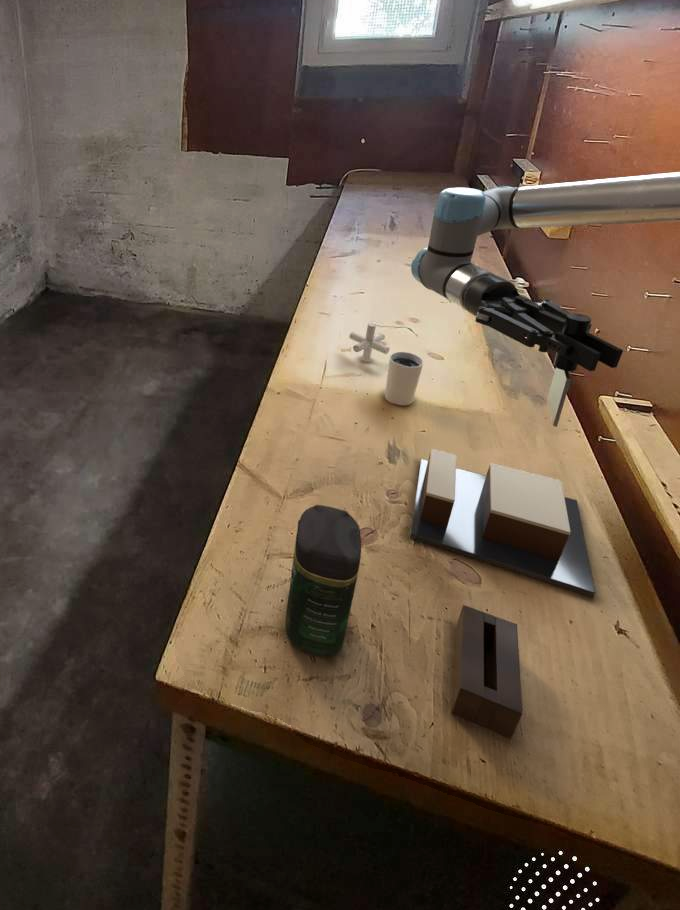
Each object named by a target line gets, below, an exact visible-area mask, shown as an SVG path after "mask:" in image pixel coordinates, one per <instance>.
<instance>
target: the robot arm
mask: <svg viewBox="0 0 680 910" xmlns="http://www.w3.org/2000/svg"><path fill="white" fill-rule="evenodd" d="M657 223H658V224H660V223H661V224H662V223H680V171H672V172H661V173H652V174H651V173H650V174H642V175H631V176H621V177H609V178H600V179H599V178H598V179H588V180H578V181H569V182H556V183H547V184H536V185H526V186H525V185H524V186H520V187H519V186H518V187H516V186H515V187H513V186H507V185H505V186H496V187H491V188H488V189H487V190H484V191H482V190H481V189H477V188H473V187H472V188H470V187H459V186H458V187H448V188H445V189H442V190H441V191H440V193H439V195H438V198H437V201H436V205H435V207H434V210H433V218H432V224H431V227H430V228H431V229H430V234H429V239H428V244H427V247H424V248H423V249H421V250H420V251H418V252H417V253H416V256H415V257H414V259H413V260H412V261H411V264H410V265H411V266H410V269H411V270H410V272H411V274H412V277H413V278H414V280H416V281H417V282H418V283H420V284H421V285H422V286H423V287H424V288H426V289H427V290H430V291H433V292H434V293H436V294H438V295H439V296H441V297H443V298H445V299H446V300H448V301H450V302H452V303H454V304H455V305H457V307H460V308H461V309H462V310H464V311H467V312H468V313H469V314H471V315H472V316H474V317H475V319H474V322H476V323H478V324H480V325H484V326H487V327H488V328H491V329H493V330H495V331H496V332H499V333H501V334H503V336H506V337H508V338H510V339H512V340H513V341H516V342H517V343H520V344H521V345H523V346H525V347H528V348H534V347H535V346H536V345H537V346H538V347H539V348H538V350H537V351H538V352H540V353H547V352H548V351H549V349H550V350H552V351H553V352H555V353H559V354H561V355H562V356H564V357H566V358H568V359H569V360H571V361H573V362H575V363H576V364H578V366H580V367H582V368H583V369H585V370H587V371H589V372H595V371H596V368H597V366H598V364H599V363H601V364H604V365H606V366H608V367H609V368H611V369H615V368H617V367H618V365H619V362H620V360H621V357H622V356H623V355H622V354H623V352H624V350H623V349H621V348H620V347H617V346H616V345H614V344H612V343H610V342H608V341H606V340H604V339H602V338H600V337H598V336H596V335H594V334H592V333H590V332H591V328H592V324H591V323H590V326H589V329H588V333H587V336H586V339H585V343H584V344H582V343H581V342H579V341H577V340H575V339H573V338H571V337H569V336H567V335H565V334H564V333H562V332H563V328H564V324H565V321H566V317H567V315H568V314H573V313H572V312H570V311H568V310H566V309H565V308H563V307H561V306H559V305H558V304H556V303H555V302H554V301H553V300H552V299H550V298H543V300H542V302H534V301H533V300H532V299H531V298H528V297H525V296H522V295H520V293H519V290H518V288H517V287H516V285H515V284H514V283H513V282H512V281H509V280H507V279H506V278H503V277H501V276H499V275H496V274H495V273H493V272H491V271H489V270H487V269H484V268H483V267H480V266H478V265H476V264H474V263H472V258H473V255H474V251H475V247H476V244H477V243H476V242H477V240H478V239H477V238H478V236H479V237H480V236H482V235H484V234H486V233H490V232H492V231H494V230H506V229H507V230H510V229H523V228H524V229H526V228H551V227H555V228H556V227H578V226H579V227H580V226H604V225H605V226H609V225H631V224H632V225H633V224H635V225H636V224H657Z"/></svg>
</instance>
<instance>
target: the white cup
mask: <svg viewBox="0 0 680 910" xmlns="http://www.w3.org/2000/svg"><path fill="white" fill-rule="evenodd" d="M423 367H424V360H423V359H422V357H421V356H419V355H417V354H416V353H413V352H408V351H395V352H392V353H391V354H390V355H389V361H388V369H387V375H386V385H385V392H384V398H385V400H386V401H388V402H389V403H390V404H393V405H396V406H408V405H411V404H412V403H414V398H415V396H416V395H415V394H416V392H417V387H418V384H419V380H420V376H421V373H422V369H423Z"/></svg>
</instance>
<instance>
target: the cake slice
mask: <svg viewBox="0 0 680 910" xmlns="http://www.w3.org/2000/svg"><path fill="white" fill-rule="evenodd" d="M457 457H458V456H457V454H455V453H450V452H447V451H443V450H438V449H434V448H430V452H429V456H428V460H427V461H428V464H427V468H426V472H425V477H424V487H423V496H422V505H421V514H420V520H422V521H425V522H428V523H432V524H435V525H438V526H442V527H445V528H447V526H448V523H449V519H450V516H451V512H452V508H453V505H454V501H455V483H456V468H457Z"/></svg>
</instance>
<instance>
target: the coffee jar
mask: <svg viewBox="0 0 680 910" xmlns="http://www.w3.org/2000/svg"><path fill="white" fill-rule="evenodd" d="M360 529H361V528H360V526H359V523H358V522H357V521H356V519H355V518H354V517H353V516H352V515H351V514H349V512H348V511H347V510H344V509H341V508H338V507H337V508H336V507H332V506H328V505H323V504H315V505H313V506H310V507H308V508H307V509H305V510H304V511H303V512H302V513H301V515H300V518H299V520H298V521H297V530H296V536H295V544H294V552H293V559H292V566H291V575H290V582H289V590H288V595H287V604H286V612H285V633H286V637H287V639H288V640H289V641H290V643H291V644H292V645H293V646H294V647H295V648H297V649H299V650H300V651H303V652H305V653H307V654H311V655H314V656H319V657H324V658H325V657H326V658H329V657H334V656H336V655H338V654H339V653H340V652H341V651H342V649H343V646H344V642H345V638H346V633H347V629H348V622H349V619H350V618H349V617H350V613H351V608H352V604H353V600H354V596H355V591H356V585H357V580H358V576H359V571H360V565H361V555H362V535H361V530H360Z"/></svg>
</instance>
